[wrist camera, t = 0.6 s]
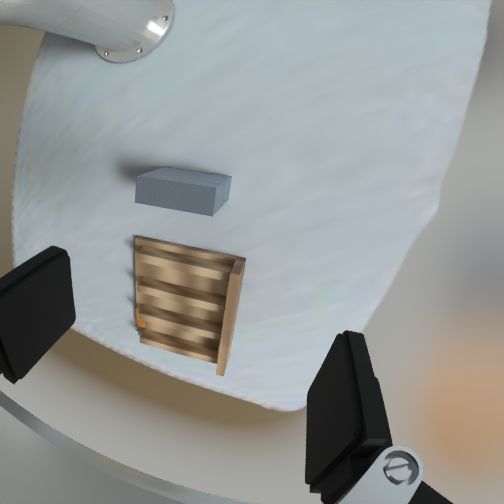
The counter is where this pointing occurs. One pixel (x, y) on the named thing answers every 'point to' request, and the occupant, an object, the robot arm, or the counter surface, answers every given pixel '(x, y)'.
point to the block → (183, 190)
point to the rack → (187, 299)
